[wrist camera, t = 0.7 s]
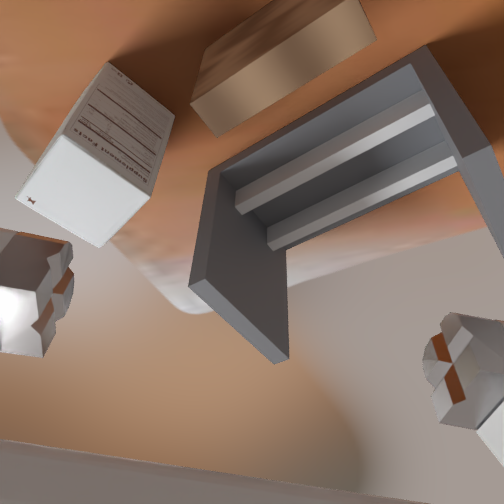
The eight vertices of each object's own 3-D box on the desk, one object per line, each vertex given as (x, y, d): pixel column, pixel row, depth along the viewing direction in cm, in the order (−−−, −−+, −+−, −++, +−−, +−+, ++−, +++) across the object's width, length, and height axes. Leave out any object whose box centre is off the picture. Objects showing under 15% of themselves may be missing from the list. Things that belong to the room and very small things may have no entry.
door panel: (226, 78, 40) (216, 138, 33) (205, 48, 39) (189, 104, 31) (355, -8, 36) (377, 39, 28) (337, -46, 34) (355, -7, 27)
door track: (273, 246, 53) (273, 364, 42) (208, 171, 47) (188, 286, 35) (471, 154, 45) (539, 271, 33) (425, 44, 38) (491, 144, 27)
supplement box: (133, 164, 47) (98, 252, 37) (65, 115, 43) (8, 199, 34) (179, 115, 43) (153, 199, 34) (108, 57, 39) (58, 133, 30)
